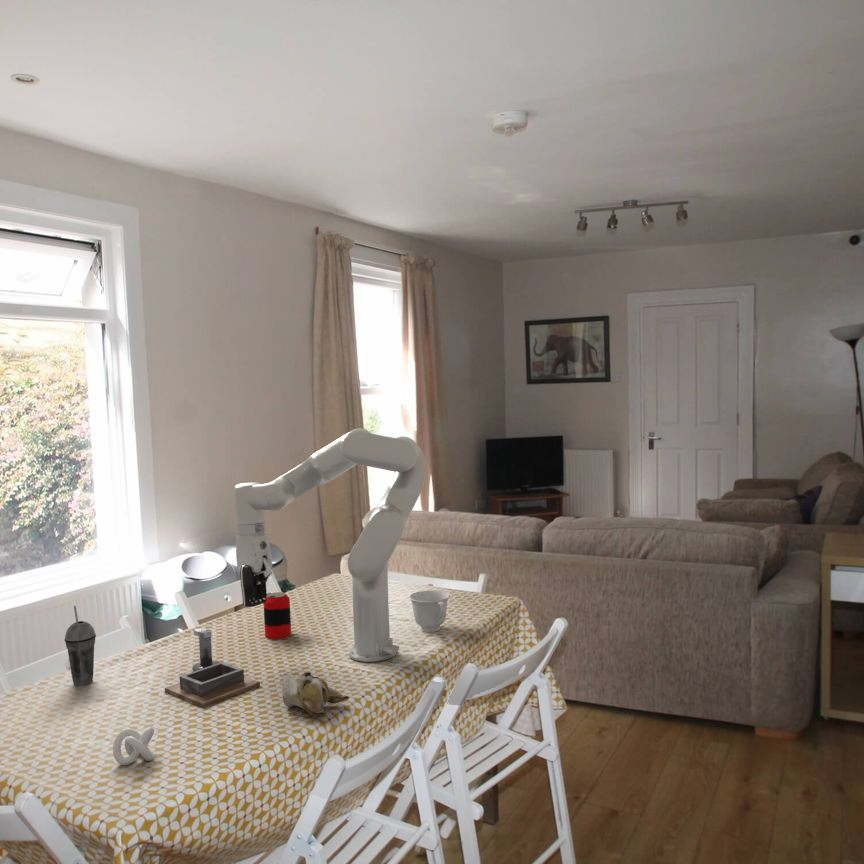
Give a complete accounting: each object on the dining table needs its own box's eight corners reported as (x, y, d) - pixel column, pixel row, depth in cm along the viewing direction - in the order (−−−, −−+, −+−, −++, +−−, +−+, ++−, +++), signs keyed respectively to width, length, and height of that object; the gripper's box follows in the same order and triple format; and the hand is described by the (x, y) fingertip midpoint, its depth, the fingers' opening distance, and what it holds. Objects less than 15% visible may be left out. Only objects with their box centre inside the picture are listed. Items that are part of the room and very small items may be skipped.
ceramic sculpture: (298, 658, 186) (351, 671, 179) (298, 694, 187) (351, 708, 180) (268, 674, 177) (322, 688, 170) (268, 711, 178) (322, 727, 171)
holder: (259, 685, 193) (259, 669, 193) (203, 707, 181) (202, 690, 181) (221, 672, 204) (220, 656, 204) (165, 691, 192) (164, 675, 191)
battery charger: (251, 608, 209) (248, 566, 208) (241, 607, 211) (238, 564, 210) (271, 602, 214) (268, 560, 214) (261, 600, 216) (258, 559, 216)
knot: (134, 748, 162) (132, 720, 162) (167, 752, 160) (166, 723, 160) (109, 765, 155) (107, 736, 155) (143, 769, 153) (142, 740, 152)
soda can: (259, 637, 231) (257, 597, 230) (274, 630, 238) (272, 590, 237) (282, 640, 228) (280, 599, 227) (296, 632, 235) (294, 592, 234)
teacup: (426, 641, 223) (424, 606, 222) (403, 627, 236) (402, 594, 235) (463, 633, 228) (462, 599, 228) (439, 620, 242) (438, 588, 241)
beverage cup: (105, 678, 202) (100, 601, 201) (84, 689, 195) (79, 609, 194) (82, 676, 204) (77, 599, 203) (60, 686, 198) (55, 607, 196)
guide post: (226, 668, 207) (224, 630, 206) (202, 676, 201) (200, 637, 201) (210, 662, 211) (208, 625, 211) (187, 670, 206) (185, 632, 205)
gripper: (282, 529, 209) (286, 597, 210) (243, 524, 220) (248, 589, 221) (259, 534, 203) (264, 604, 204) (220, 529, 214) (225, 596, 215)
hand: (255, 596), depth 212 cm, fingers closed on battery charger, 4 cm apart
